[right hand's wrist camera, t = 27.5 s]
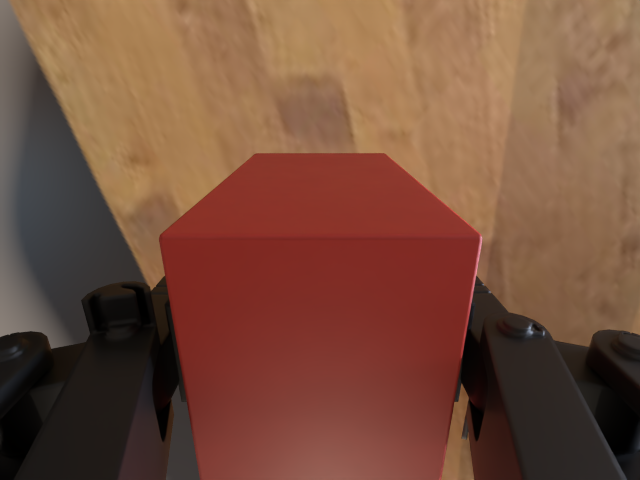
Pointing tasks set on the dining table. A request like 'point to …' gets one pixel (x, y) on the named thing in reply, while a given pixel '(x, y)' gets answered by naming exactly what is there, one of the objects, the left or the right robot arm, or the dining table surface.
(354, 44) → the dining table surface
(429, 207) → the block
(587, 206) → the dining table surface
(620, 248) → the dining table surface
